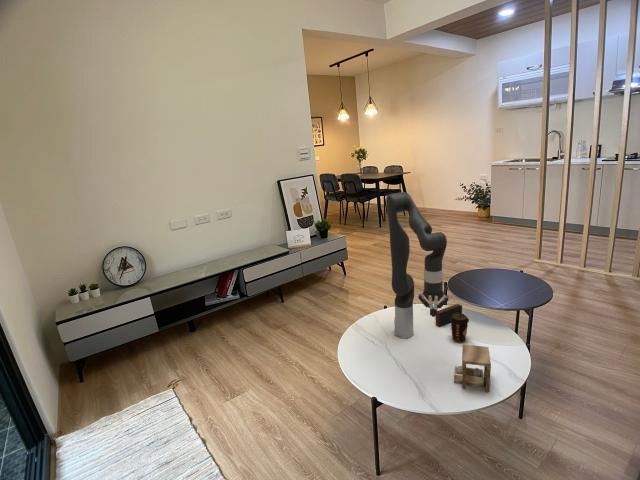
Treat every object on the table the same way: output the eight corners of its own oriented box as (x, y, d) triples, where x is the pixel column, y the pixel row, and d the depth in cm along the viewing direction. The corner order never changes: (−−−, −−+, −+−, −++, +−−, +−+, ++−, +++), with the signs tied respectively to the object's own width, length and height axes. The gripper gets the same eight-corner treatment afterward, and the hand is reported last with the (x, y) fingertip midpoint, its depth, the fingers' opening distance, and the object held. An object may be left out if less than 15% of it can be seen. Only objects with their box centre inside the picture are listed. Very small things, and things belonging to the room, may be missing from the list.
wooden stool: (462, 388, 145) (463, 360, 141) (462, 370, 155) (462, 344, 152) (489, 392, 141) (490, 364, 137) (487, 373, 152) (488, 347, 148)
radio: (457, 316, 200) (458, 292, 195) (461, 319, 197) (462, 294, 193) (432, 326, 192) (432, 301, 188) (436, 328, 190) (436, 303, 185)
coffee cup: (465, 334, 182) (466, 312, 178) (470, 344, 174) (471, 320, 170) (448, 335, 183) (448, 312, 179) (452, 344, 175) (452, 320, 171)
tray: (454, 382, 148) (454, 371, 147) (454, 373, 154) (454, 362, 152) (483, 386, 144) (483, 375, 143) (482, 377, 150) (482, 366, 148)
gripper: (450, 276, 150) (449, 313, 155) (418, 274, 155) (418, 310, 159) (449, 283, 143) (449, 321, 148) (416, 281, 148) (416, 318, 153)
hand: (433, 315), depth 154 cm, fingers closed
